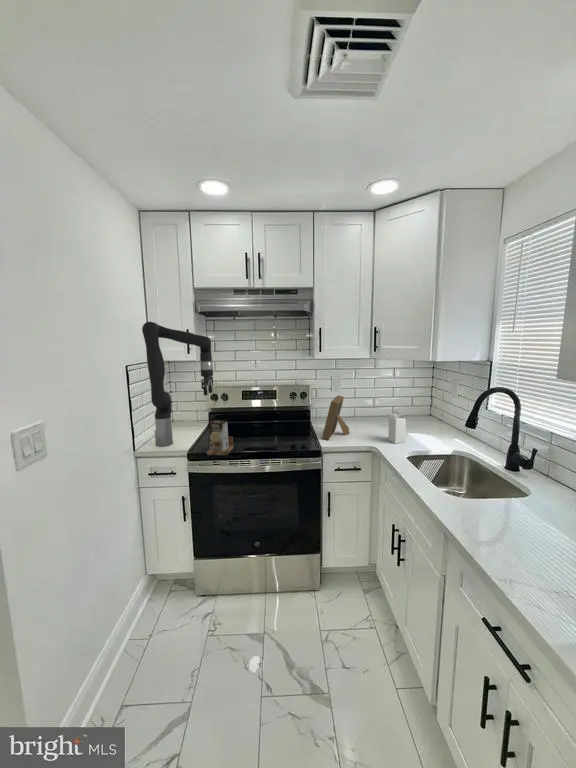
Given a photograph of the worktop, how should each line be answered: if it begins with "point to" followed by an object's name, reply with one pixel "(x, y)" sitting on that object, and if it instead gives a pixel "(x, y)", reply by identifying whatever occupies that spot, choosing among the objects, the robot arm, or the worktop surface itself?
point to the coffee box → (218, 435)
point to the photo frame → (334, 419)
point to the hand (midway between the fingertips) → (208, 394)
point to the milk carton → (397, 427)
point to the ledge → (225, 452)
